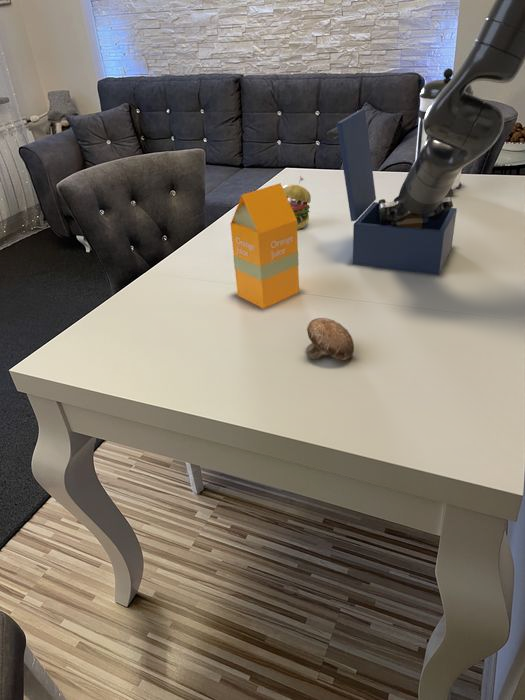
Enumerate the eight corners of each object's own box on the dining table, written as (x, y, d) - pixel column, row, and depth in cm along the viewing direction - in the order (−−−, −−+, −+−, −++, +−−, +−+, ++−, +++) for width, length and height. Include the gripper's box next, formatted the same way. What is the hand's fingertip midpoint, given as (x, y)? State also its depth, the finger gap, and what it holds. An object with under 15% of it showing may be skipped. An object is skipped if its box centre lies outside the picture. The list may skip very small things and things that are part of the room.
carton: (411, 244, 111) (415, 206, 107) (419, 253, 107) (423, 214, 103) (387, 246, 111) (390, 208, 107) (394, 255, 107) (397, 216, 102)
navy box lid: (364, 108, 105) (341, 113, 107) (341, 122, 95) (316, 126, 97) (376, 199, 113) (354, 201, 116) (356, 220, 103) (332, 222, 105)
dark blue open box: (451, 250, 112) (456, 208, 107) (438, 277, 101) (444, 232, 97) (371, 242, 119) (373, 202, 114) (352, 266, 108) (353, 223, 103)
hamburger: (274, 228, 130) (271, 178, 124) (295, 220, 134) (293, 171, 127) (296, 235, 125) (294, 184, 119) (317, 227, 129) (317, 176, 122)
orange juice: (237, 297, 100) (226, 191, 89) (272, 282, 104) (266, 179, 94) (264, 311, 95) (255, 199, 84) (300, 295, 99) (296, 186, 88)
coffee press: (395, 187, 151) (403, 69, 135) (448, 181, 153) (462, 63, 137) (421, 205, 137) (433, 75, 121) (479, 198, 139) (499, 68, 123)
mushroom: (288, 347, 78) (312, 313, 76) (301, 339, 85) (323, 307, 84) (332, 380, 77) (358, 346, 75) (341, 369, 84) (365, 337, 82)
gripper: (464, 160, 93) (433, 207, 109) (383, 167, 92) (364, 213, 109) (472, 199, 91) (440, 241, 108) (389, 206, 91) (369, 247, 107)
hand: (402, 226), depth 108 cm, fingers closed on carton, 5 cm apart
